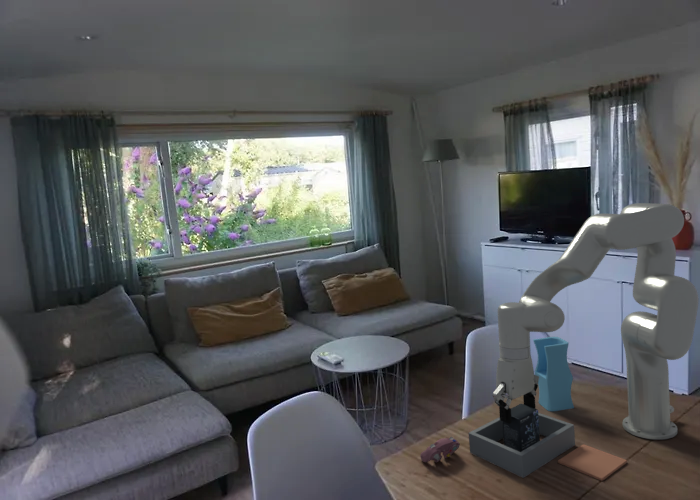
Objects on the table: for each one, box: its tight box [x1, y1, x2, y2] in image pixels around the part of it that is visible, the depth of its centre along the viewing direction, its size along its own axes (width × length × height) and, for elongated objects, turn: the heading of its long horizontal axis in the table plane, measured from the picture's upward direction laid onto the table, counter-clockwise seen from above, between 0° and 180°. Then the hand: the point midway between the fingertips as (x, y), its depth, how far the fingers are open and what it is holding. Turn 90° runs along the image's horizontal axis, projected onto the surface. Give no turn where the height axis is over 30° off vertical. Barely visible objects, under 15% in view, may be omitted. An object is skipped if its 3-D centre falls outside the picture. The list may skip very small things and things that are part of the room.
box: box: [502, 403, 541, 452], centre depth 132 cm, size 8×6×11 cm
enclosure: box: [468, 412, 576, 479], centre depth 132 cm, size 21×16×6 cm
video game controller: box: [419, 436, 461, 463], centre depth 131 cm, size 10×5×7 cm, turn 118°
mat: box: [557, 443, 628, 481], centre depth 123 cm, size 11×11×1 cm
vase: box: [532, 336, 575, 412], centre depth 154 cm, size 8×8×20 cm
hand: (517, 415), depth 131 cm, fingers open, 9 cm apart
